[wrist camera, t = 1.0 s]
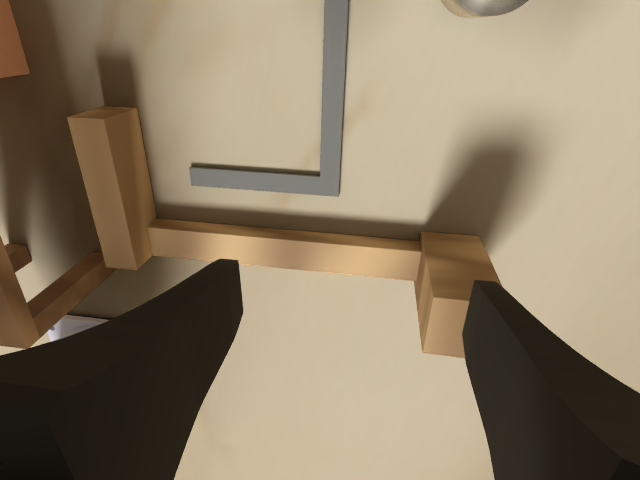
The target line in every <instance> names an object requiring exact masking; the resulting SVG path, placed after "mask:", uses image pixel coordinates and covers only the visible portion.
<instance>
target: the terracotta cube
mask: <svg viewBox="0 0 640 480" xmlns="http://www.w3.org/2000/svg"><path fill="white" fill-rule="evenodd" d="M25 74H30V71H29V68H28V64H27V61H26V57H25V54H24V51H23V47H22V44H21V40H20V37H19V33H18V30H17V27H16V23H15V20H14V16H13V13H12V9H11V6H10V3H9V0H0V78H3V77H10V76H17V75H25Z"/></svg>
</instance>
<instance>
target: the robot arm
mask: <svg viewBox="0 0 640 480" xmlns="http://www.w3.org/2000/svg"><path fill="white" fill-rule="evenodd" d="M242 315H243V303H242V293H241V283H240V272H239V262H238V260H232V259H218V260H216V261H214V262H212V263H211V264H209V265H208V266H206V267H204V268H203V269H201V270H200V271H198V272H197V273H195V274H193V275H192V276H190V277H189V278H187V279H185V280H184V281H182V282H181V283H179V284H177V285H176V286H174V287H173V288H171V289H169V290H167V291H166V292H164V293H162V294H160V295H159V296H157V297H155V298H153V299H152V300H150V301H148V302H146V303H145V304H143V305H141V306H139V307H137V308H135V309H133V310H131V311H129V312H127V313H124V314H122V315H120V316H118V317H116V318H114V319H111V320H107V319H98V318H90V317H81V316H72V315H65V316H64V317H63V318H61V319H60V320H59V321H58V322H57V323H56V324H55V325H54V326H53V327H52V328H50V329H49V330H48V331H47V332H48V335H49V338H50V340H51V342H49V343H45V344H42V345H39V346H35V347H32V348H28V349H25V350H21V351H17V352H13V353H9V354H5V355H1V356H0V480H174V477H175V474H176V471H177V468H178V466H179V463H180V460H181V457H182V454H183V452H184V449H185V446H186V443H187V440H188V438H189V435H190V432H191V430H192V427H193V425H194V422H195V419H196V417H197V414H198V412H199V409H200V407H201V405H202V403H203V400H204V398H205V396H206V394H207V392H208V390H209V388H210V386H211V384H212V382H213V380H214V379H215V377H216V375H217V373H218V371H219V369H220V367H221V365H222V363H223V361H224V359H225V357H226V355H227V353H228V351H229V349H230V347H231V345H232V343H233V341H234V338H235V335H236V333H237V330H238V327H239V324H240V321H241V318H242ZM462 338H463V346H464V353H465V360H466V365H467V369H468V373H469V376H470V380H471V384H472V387H473V391H474V394H475V398H476V401H477V405H478V408H479V412H480V415H481V419H482V422H483V426H484V429H485V433H486V437H487V441H488V445H489V450H490V455H491V461H492V467H493V473H494V478H495V480H640V393H638V392H637V391H635V390H633V389H632V388H630V387H628V386H627V385H625V384H623V383H622V382H620V381H619V380H617V379H615V378H614V377H612V376H611V375H609V374H608V373H606V372H605V371H603V370H602V369H600V368H599V367H598V366H596V365H595V364H593V363H592V362H590V361H589V360H587V359H586V358H585V357H583V356H582V355H580V354H579V353H578V352H576V351H575V350H574V349H572V348H571V347H570V346H569V345H567V344H566V343H565V342H564V341H562V340H561V339H560V338H559V337H557V336H556V335H555V334H554V333H553V332H551V331H550V330H549V329H548V328H547V327H546V326H544V325H543V324H542V323H541V322H540V321H539V320H538V319H536V318H535V317H534V316H533V315H532V314H531V313H530V312H529V311H528V310H526V309H525V308H524V307H523V306H522V305H521V304H520V303H519V302H518V301H517V300H516V299H515V298H514V297H513V296H511V295H510V294H509V293H508V292H507V291H506V290H505V289H504V288H503V287H502V286H501V285H499V284H498V283H497V282H495V281H483V280H474V283H473V288H472V292H471V296H470V301H469V305H468V309H467V314H466V318H465V323H464V327H463V331H462Z"/></svg>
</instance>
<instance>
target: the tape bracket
mask: <svg viewBox="0 0 640 480" xmlns="http://www.w3.org/2000/svg"><path fill="white" fill-rule="evenodd" d="M348 4H349V0H325V5H324V42H323V80H322V117H321V155H320V176H318V175H303V174H289V173H275V172H261V171H247V170H232V169H218V168H204V167H190V168H189V169H190V176H191V184H192V186H205V187H218V188H231V189H244V190H258V191H271V192H284V193H297V194H310V195H323V196H337V197H338V196H339V181H340V161H341V142H342V122H343V103H344V83H345V63H346V44H347V24H348Z"/></svg>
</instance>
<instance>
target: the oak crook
mask: <svg viewBox="0 0 640 480" xmlns="http://www.w3.org/2000/svg"><path fill="white" fill-rule="evenodd" d="M67 120H68V124H69V128H70V132H71V135H72V139H73V143H74V147H75V150H76V154H77V158H78V162H79V166H80V169H81V173H82V177H83V181H84V185H85V188H86V192H87V196H88V200H89V204H90V207H91V211H92V215H93V219H94V223H95V226H96V230H97V234H98V238H99V242H100V245H101V249H102V253H103V257H104V261H105V264H106V267H110V268H120V269H130V270H138V269H139V268H140V267H141V266H142V265H143V264H144V263H145V262H146V261H147V260H148V259H149V258H150V257H151V256H162V257H172V258H183V259H193V260H203V261H216V260H218V259H232V260H238V262H239V264H245V265H255V266H266V267H276V268H286V269H297V270H307V271H317V272H328V273H338V274H348V275H359V276H369V277H379V278H390V279H400V280H410V281H414V285H415V294H416V302H417V311H418V319H419V327H420V336H421V344H422V352H423V353H427V354H436V355H444V356H453V357H461V358H465V353H464V346H463V338H462V331H463V327H464V323H465V318H466V314H467V309H468V305H469V301H470V296H471V292H472V288H473V283H474V280H483V281H495V282H497V283H498V284H499V285H501V283H500V280H499V278H498V276H497V274H496V272H495V269H494V267H493V265H492V263H491V261H490V258H489V256H488V254H487V252H486V250H485V247H484V245H483V243H482V241H481V239H480V236H473V235H461V234H449V233H437V232H425V231H421V236H420V241H413V240H401V239H390V238H378V237H366V236H355V235H343V234H332V233H320V232H308V231H297V230H285V229H273V228H262V227H250V226H238V225H227V224H215V223H204V222H192V221H180V220H169V219H157V215H156V210H155V204H154V199H153V193H152V188H151V182H150V177H149V171H148V166H147V160H146V155H145V149H144V144H143V138H142V133H141V127H140V122H139V116H138V111H137V108H127V107H109V106H103V107H100V108H96V109H93V110H89V111H86V112H82V113H79V114H76V115H72V116H69V117H67ZM501 286H502V285H501Z"/></svg>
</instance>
